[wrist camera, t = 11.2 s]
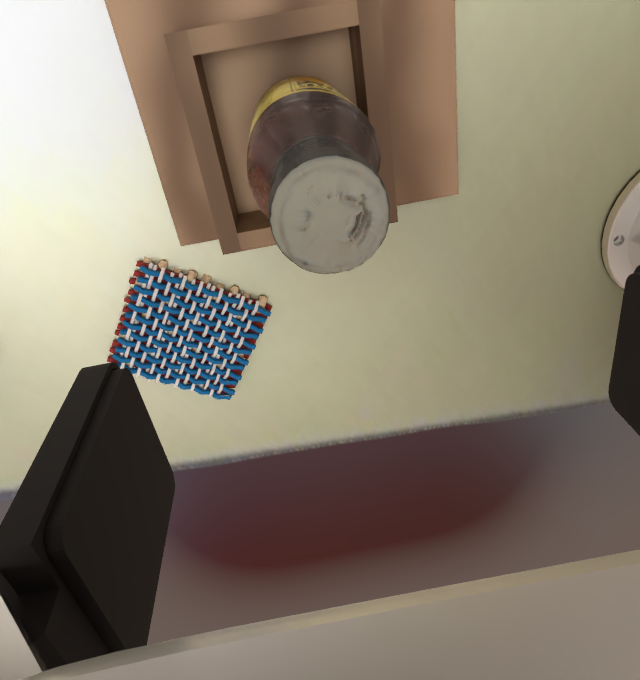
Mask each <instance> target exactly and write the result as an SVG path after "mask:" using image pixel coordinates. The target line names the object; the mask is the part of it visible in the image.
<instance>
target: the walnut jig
mask: <svg viewBox="0 0 640 680" xmlns="http://www.w3.org/2000/svg"><path fill="white" fill-rule="evenodd" d="M105 4H106V7H107V10H108V13H109V16H110V20H111V23H112V26H113V29H114V33H115V36H116V39H117V42H118V45H119V49H120V52H121V55H122V58H123V61H124V65H125V68H126V71H127V74H128V78H129V81H130V84H131V87H132V90H133V94H134V97H135V100H136V103H137V106H138V110H139V113H140V116H141V119H142V123H143V126H144V129H145V132H146V135H147V139H148V142H149V145H150V148H151V151H152V155H153V158H154V161H155V164H156V168H157V171H158V174H159V177H160V180H161V184H162V187H163V190H164V193H165V196H166V200H167V203H168V206H169V209H170V213H171V216H172V219H173V222H174V225H175V229H176V232H177V235H178V238H179V241H180V245H181V246H184V245H190V244H195V243H200V242H206V241H211V240H216V239H219V241H220V245H221V249H222V253H223V255H224V254H229V253H235V252H240V251H245V250H251V249H256V248H261V247H267V246H272V245H277V244H276V242H275V240H274V237H273V235H272V232H271V227H270V222H269V219H268V218H267V217H266V215H265V214H264V213H263V212H262V211H261V209H260V208H259V206H258V204H257V202H256V200H255V199H254V196H253V194H252V191H251V189H250V185H249V181H248V177H247V146H248V140H249V135H250V129H251V125H252V120H253V116H254V112H255V108H256V106H257V104H258V103H259V101H260V99H261V98H262V96H263V95H264V94H265V93H266V92H267V90H269V89H270V88H271V87H272V86H273V85H275V84H276V83H278V82H279V81H281V80H283V79H286V78H288V77H293V76H311V77H315V78H318V79H321V80H323V81H325V82H326V83H328V84H330V85H331V86H332V87H334V88H335V89H336V90H337V91H338V92H340V93H341V94H342V95H344V96H345V97H346V98H347V99H348V100H349V101H350V102H352V103H353V104H354V105H355V106H357V107H358V108H359V109H360V110H361V111H362V112H363V113H364V114H365V116H366V117H367V118H368V119H369V121H370V122H371V124H372V126H373V128H374V129H375V132H376V134H377V137H378V140H379V144H380V150H381V163H380V170H379V173H378V174H379V176H380V178H381V179H382V182H383V183H384V186H385V189H386V192H387V195H388V197H389V202H390V218H389V223H394V222H398V217H397V205H403V204H408V203H413V202H419V201H424V200H429V199H435V198H440V197H445V196H451V195H456V194H458V144H457V94H456V45H455V0H105Z"/></svg>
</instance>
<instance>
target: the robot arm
mask: <svg viewBox="0 0 640 680" xmlns="http://www.w3.org/2000/svg"><path fill="white" fill-rule="evenodd" d="M602 256H603V260H604V264H605V268H606V270H607V272H608V273H609V275H610V277H611V278H612V279H613V280H614V281H615V282H616V284H617V285H618V286H620V287H621V288H623V289H624V295H623V301H622V307H621V314H620V320H619V327H618V333H617V339H616V346H615V352H614V358H613V365H612V371H611V378H610V384H609V398H610V401H611V403H612V405H613V407H614V408H615V410H616V411H617V412H618V413H619V414H620V415H621V416H622V417H623V418H624V419H625V420H626V421H627V423H628V424H629V425H630V426H631V427H632V428H633V429H634V430H635V431H636V432H637V433H638V435H639V436H640V172H639V173H638V174H637V175H636V176H635V177H634V178H633V179H632V180H631V181H630V182H629V184H628V185H627V186H626V188H625V189H624V190H623V192H622V193H621V194H620V196H619V197H618V199H617V201H616V202H615V204H614V206H613V208H612V210H611V212H610V214H609V217H608V219H607V222H606V225H605V228H604V234H603V239H602ZM174 491H175V481H174V475H173V472H172V469H171V467H170V464H169V462H168V459H167V457H166V455H165V452H164V450H163V447H162V445H161V443H160V440H159V438H158V435H157V433H156V431H155V428H154V426H153V423H152V421H151V419H150V416H149V414H148V411H147V409H146V407H145V404H144V402H143V399H142V397H141V395H140V392H139V390H138V387H137V385H136V383H135V380H134V378H133V375H132V373H131V371H130V370H129V369H128V368H122V369H120V367H119V366H118V364H117V363H114V362H112V363H107V364H101V365H96V366H91V367H85V368H82V369H81V370H80V372H79V374H78V376H77V378H76V380H75V382H74V383H73V385H72V387H71V389H70V391H69V393H68V395H67V397H66V399H65V401H64V403H63V405H62V407H61V409H60V411H59V413H58V415H57V416H56V418H55V420H54V422H53V424H52V426H51V428H50V430H49V432H48V434H47V436H46V438H45V440H44V442H43V444H42V446H41V448H40V449H39V451H38V453H37V455H36V457H35V459H34V461H33V463H32V465H31V467H30V469H29V471H28V473H27V475H26V477H25V479H24V480H23V482H22V484H21V486H20V488H19V490H18V492H17V494H16V496H15V498H14V500H13V502H12V504H11V506H10V508H9V510H8V512H7V513H6V515H5V517H4V519H3V521H2V523H1V525H0V680H640V550H636V551H631V552H626V553H620V554H615V555H609V556H605V557H599V558H593V559H588V560H582V561H577V562H572V563H566V564H561V565H556V566H550V567H546V568H540V569H535V570H529V571H524V572H518V573H513V574H508V575H503V576H497V577H492V578H486V579H482V580H476V581H471V582H465V583H460V584H455V585H450V586H445V587H439V588H433V589H428V590H423V591H418V592H412V593H407V594H402V595H397V596H391V597H386V598H381V599H377V600H371V601H366V602H360V603H355V604H350V605H345V606H340V607H335V608H329V609H325V610H319V611H314V612H309V613H304V614H299V615H293V616H288V617H283V618H278V619H273V620H267V621H262V622H257V623H252V624H247V625H242V626H237V627H231V628H226V629H222V630H218V631H212V632H207V633H203V634H198V635H193V636H188V637H184V638H179V639H174V640H170V641H165V642H160V643H155V644H151V645H147V640H148V635H149V629H150V624H151V618H152V613H153V607H154V602H155V596H156V591H157V585H158V579H159V574H160V568H161V563H162V557H163V551H164V546H165V541H166V535H167V530H168V524H169V518H170V513H171V508H172V502H173V497H174Z"/></svg>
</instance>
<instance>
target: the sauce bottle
mask: <svg viewBox="0 0 640 680" xmlns="http://www.w3.org/2000/svg"><path fill="white" fill-rule="evenodd" d="M380 163H381V150H380V144H379V140H378V137H377V134H376V132H375V129H374V128H373V126H372V124H371V122H370V121H369V119H368V118H367V117H366V116H365V114H364V113H363V112H362V111H361V110H360V109H359V108H358V107H357V106H355V105H354V104H353V103H352V102H350V101H349V100H348V99H347V98H346V97H345V96H344V95H342V94H341V93H340V92H338V91H337V90H336V89H335V88H334V87H332V86H331V85H330V84H328V83H326V82H325V81H323V80H321V79H318V78H315V77H311V76H293V77H288V78H286V79H283V80H281V81H279V82H278V83H276V84H275V85H273V86H272V87H271V88H270V89H269V90H267V92H266V93H265V94H264V95H263V96H262V98H261V99H260V101H259V103H258V104H257V106H256V108H255V112H254V116H253V120H252V125H251V129H250V135H249V140H248V146H247V177H248V181H249V185H250V189H251V191H252V194H253V196H254V199H255V200H256V202H257V204H258V206H259V208H260V209H261V211H262V212H263V213H264V214H265V215H266V217H267V218H268V219H269V222H270V227H271V232H272V235H273V237H274V240H275V242H276V244H277V246H278V247H279V249H280V250H281V251H282V253H283V254H284V255H285V256H286V257H287V258H288V259H290V260H291V261H292V262H294V263H295V264H297V265H298V266H299V267H301V268H302V269H305V270H308V271H310V272H314V273H319V274H329V273H339V272H343V271H349V270H351V269H353V268H355V267H357V266H359V265H361V264H363V263H364V262H365V261H366V260H367V259H369V258H370V257H371V256H373V254H374V253H375V251H376V250H377V249H378V247H379V246H380V245H381V244H382V242H383V240H384V238H385V236H386V233H387V229H388V225H389V218H390V202H389V197H388V195H387V192H386V189H385V186H384V183H383V182H382V179H381V178H380V176H379V174H378V173H379V170H380Z"/></svg>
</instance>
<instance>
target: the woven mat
mask: <svg viewBox="0 0 640 680" xmlns="http://www.w3.org/2000/svg"><path fill="white" fill-rule="evenodd" d="M136 266H138V267H140V269H139V271H137V270H135V272H134V275H133V276H136V277H137V278H130V280H129V283H130V284H135V285H134V290H132V289H129V291H128V294H129V295H131V297H130V298H126V297H125V299H124V301H125V302H127V303H129V305H128V307H125V306H124V307H123V311H122V312H126V313H125V316H123V315H121V317H120V321H123V324H120V323H119V324H118V326H117V329H120V330H116V331H115V335H119V338H118V340H117V341H115V340H114V341H113V343H112V346H116V348H113V347H111V348H110V350H109V351H110V352H112V353H113V356H112V357H110V356H109V357H108V359H107V362H111V363H112V362H114V363H117V364H118V366H119V367H120V369H122V368H128V369H129V370H130V371H131V373H132V374H134V373H137V374H136V378H137V377H139V375H142V376H143V378H145V379H146V378H147V382H150V380H151V379H156V380H155V383H158V382H159V381H160V382H161V383H162V384H169V385H171V386H172V384H173V383H174V384H175V385H174V388H175V389H176V388H177V386H178V387H180V388H181V389H182V390H184V389H190V392H193V390H194V391H196V392H198V393H199V394H201V395H204V394H209V396H208V397H210V398H211V397H212V396H213V397H214V399H228V400H230V398H231V396H232V395H234V393H235V390H233V389H230V388H235V387H236V385H237V383H238V380H241V378H242V376H241V373H242V371H243V370H244V367H245V365H248V363H249V361H248V360H246V359H248V358H249V355H250V354H251V352H252V349H255V347H256V345H255V342H256V339H258V337H259V334H260V333H261V334H262V332H263V324H261V323H259V322H263V323H265V321H266V319H267V316H270V314H271V312H270V310H271V308H272V307H271V306H270V305H268V304H267V303H266V302H267V299H268V298H267V297H265V296H259V299H258V300H251V299H250V295H251V294H248V293H245V292H244V294H243V296H242V297H241V296H240V295H241V294H238V288H239V287H236V286H233V287H232V288H231V289H230V290H229V293H228V292H226V291H223V290H224V285H222V284H219V283H217V284H216V285H215V286H211V283H210V280H211V278H212V276H209V275H206V274H204V275H203V278H202V281H199V280H198V279H196V277H197V273H196V272H194V271H189V272H188V275H186V274H183V273H181V271H182V270H180V269H177V268H175V269H174V272H170V271H167V270H166V267H167V262H166V261H163V260H161V261H160V262H159V263H158V267H157V265H154V266H153V263H152V259H150V258H147V257H144V259H143V262H141V261H138V262H137V264H136ZM154 276H155V277H154ZM163 279H165V280H166V281H165V280H163ZM179 284H181V286H180V285H179ZM194 284H195V285H194ZM145 288H146V289H145ZM163 289H165V290H163ZM195 290H197V291H195ZM189 298H190V299H189ZM204 303H205V304H204ZM237 304H239V305H237ZM158 307H159V308H158ZM172 307H173V308H172ZM221 309H222V310H221ZM265 309H266V310H265ZM261 313H262V314H261ZM150 318H151V319H150ZM243 321H244V322H243ZM196 324H197V325H196ZM175 336H177V337H175ZM253 338H254V339H253ZM128 339H129V341H128ZM221 341H222V342H221ZM199 352H201V353H199ZM154 356H155V358H154ZM243 357H244V358H245V359H243ZM134 367H136V368H134ZM163 368H165V369H163ZM223 368H224V369H223ZM222 369H223V370H222ZM239 369H240V370H239ZM241 370H242V371H241ZM178 371H179V373H177V372H178ZM186 383H190V384H186ZM202 388H203V389H202Z"/></svg>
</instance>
